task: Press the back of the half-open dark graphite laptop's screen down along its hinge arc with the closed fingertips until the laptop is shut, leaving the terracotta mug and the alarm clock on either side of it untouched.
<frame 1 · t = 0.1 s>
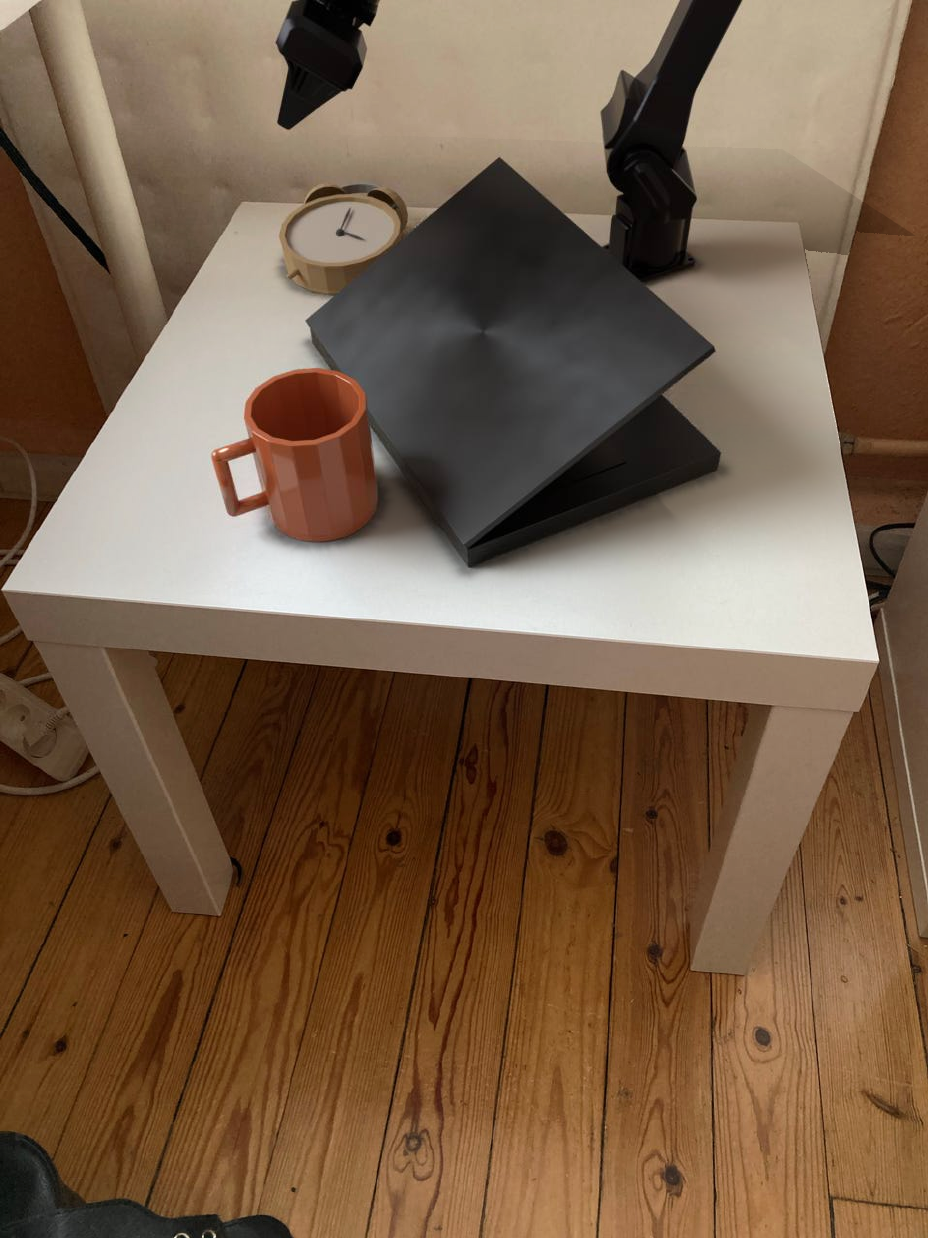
hand: (291, 100, 85), 15 cm above the table, tool tilted 35°, fingers open, 9 cm apart
mug: (323, 502, 76), on the table
laptop screen: (485, 334, 77), point 7 cm above the table, hinge at 27.0°
laptop: (500, 402, 83), on the table
alarm clock: (349, 254, 98), on the table
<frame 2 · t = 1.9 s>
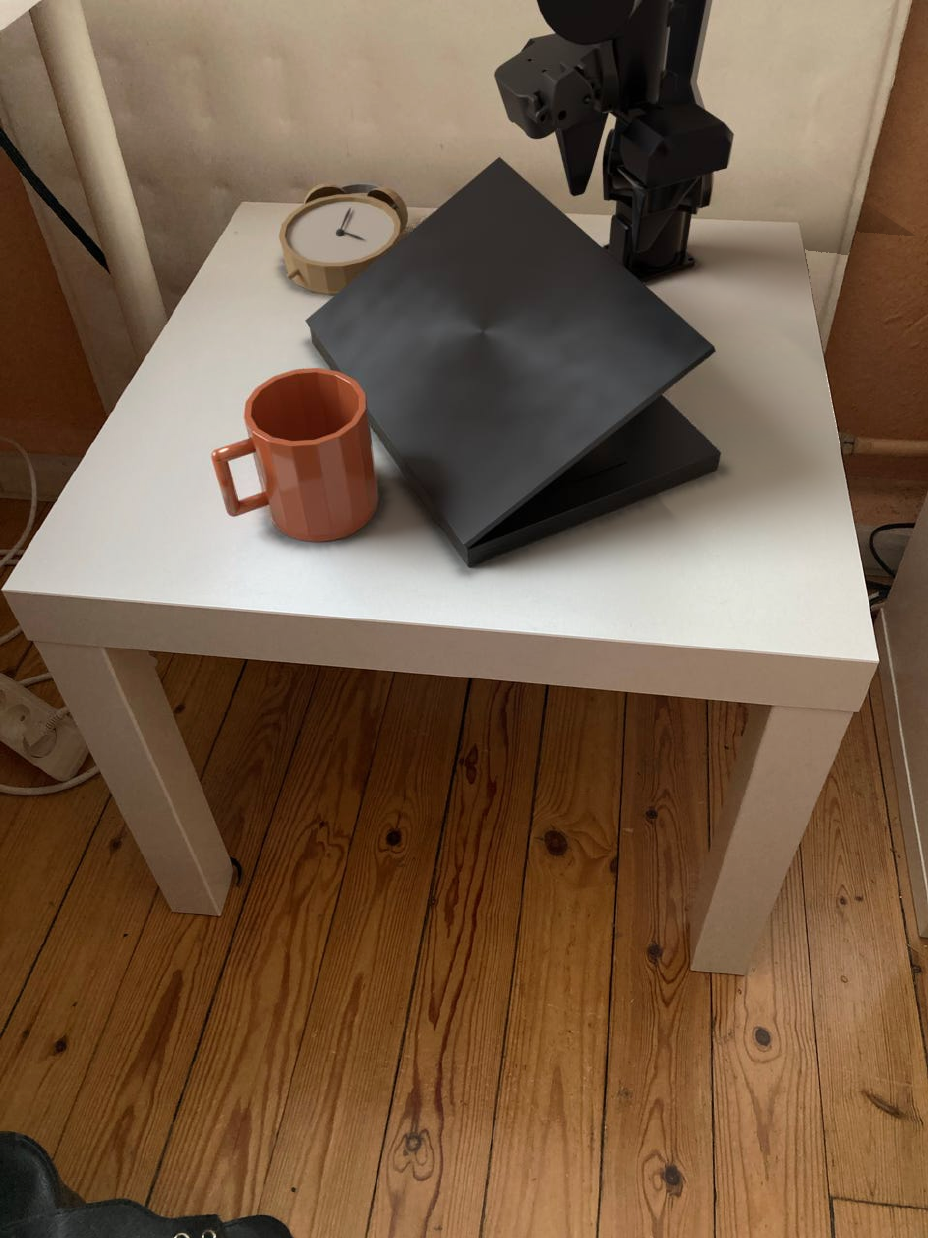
hand: (607, 221, 75), 13 cm above the table, tool pointing down, fingers open, 9 cm apart
nothing on the table moved.
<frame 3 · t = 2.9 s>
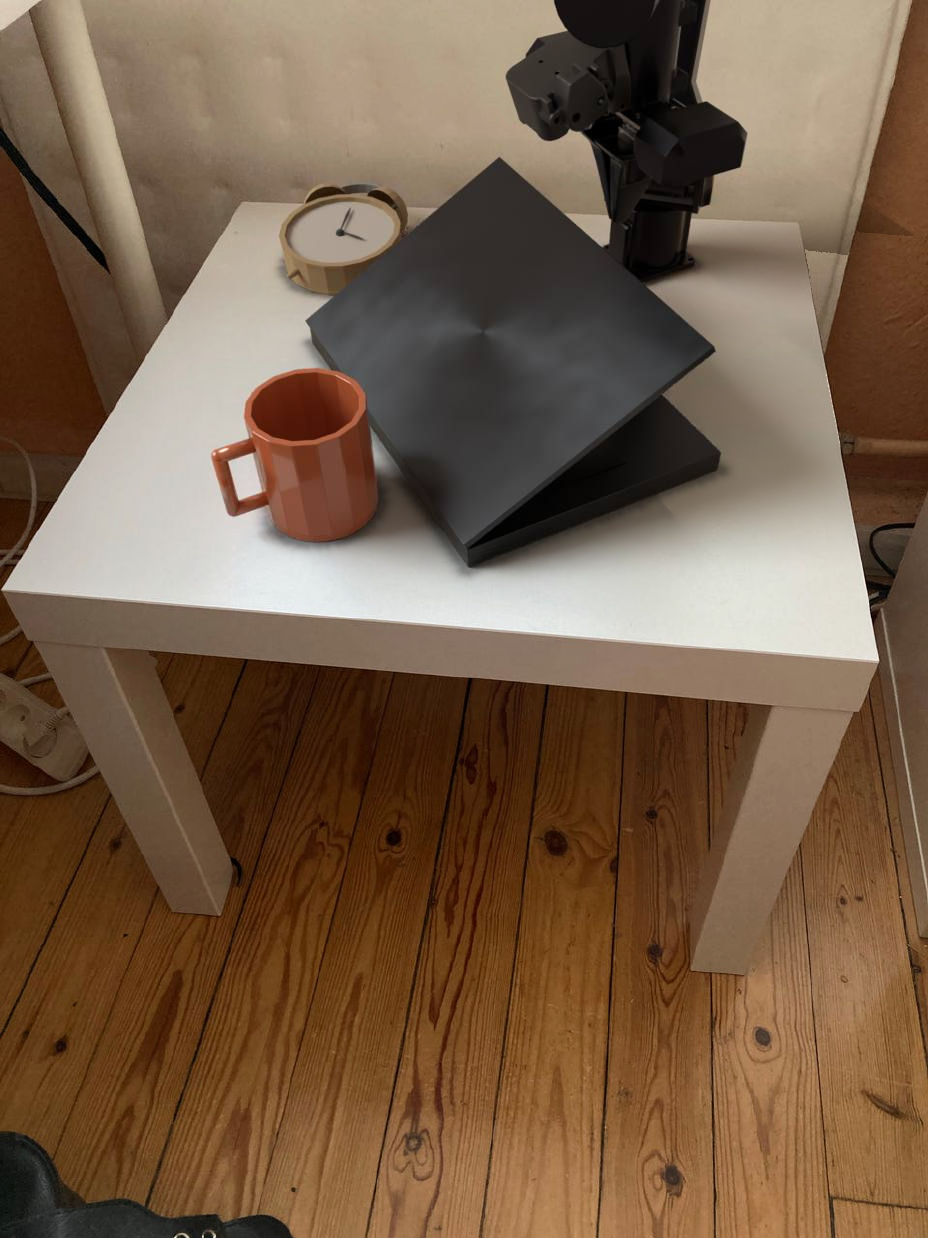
hand: (617, 219, 75), 13 cm above the table, tool pointing down, fingers closed
nothing on the table moved.
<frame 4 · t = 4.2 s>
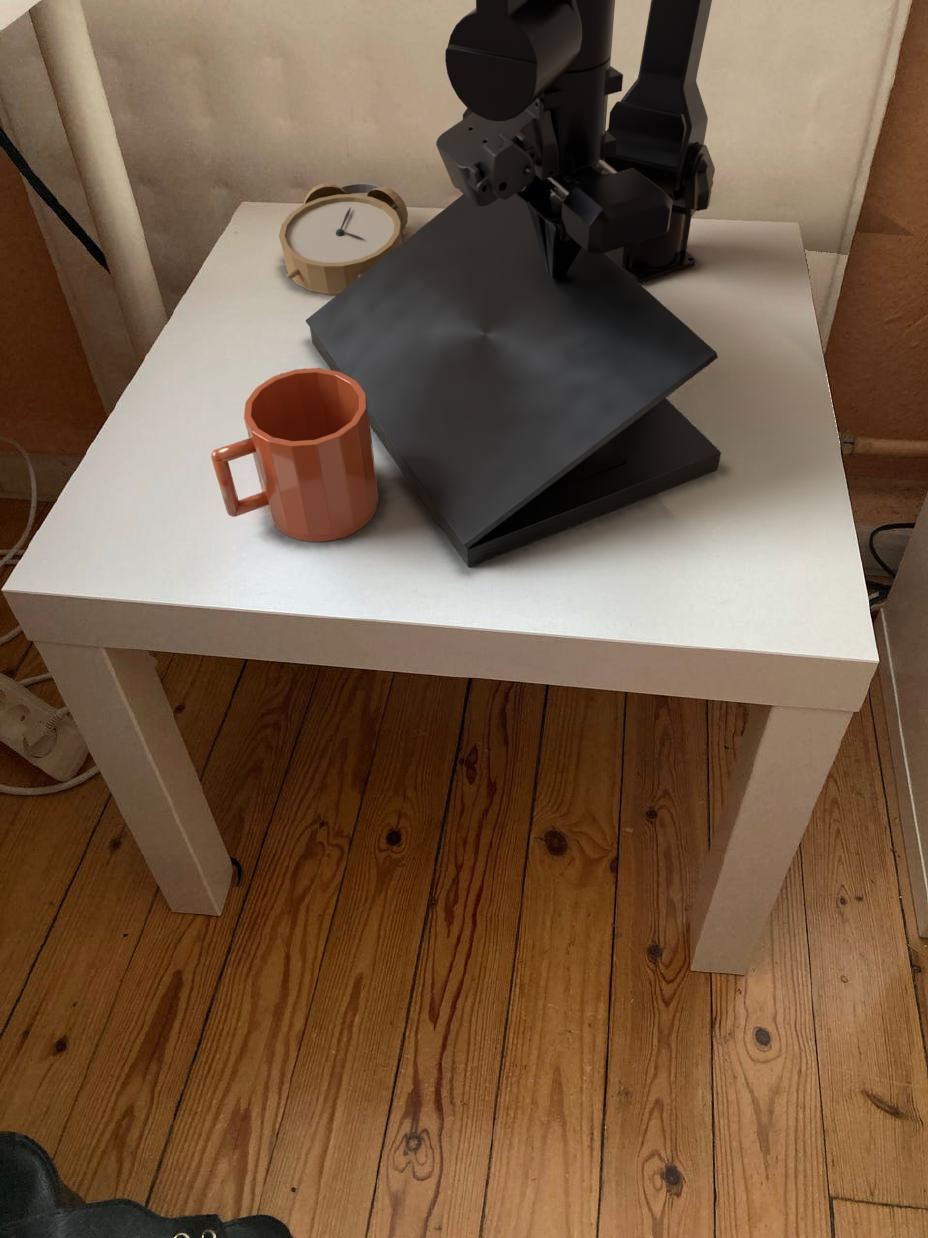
hand: (556, 275, 76), 10 cm above the table, tool pointing down, fingers closed
laptop screen: (486, 337, 77), point 7 cm above the table, hinge at 25.2°
everything else where it was.
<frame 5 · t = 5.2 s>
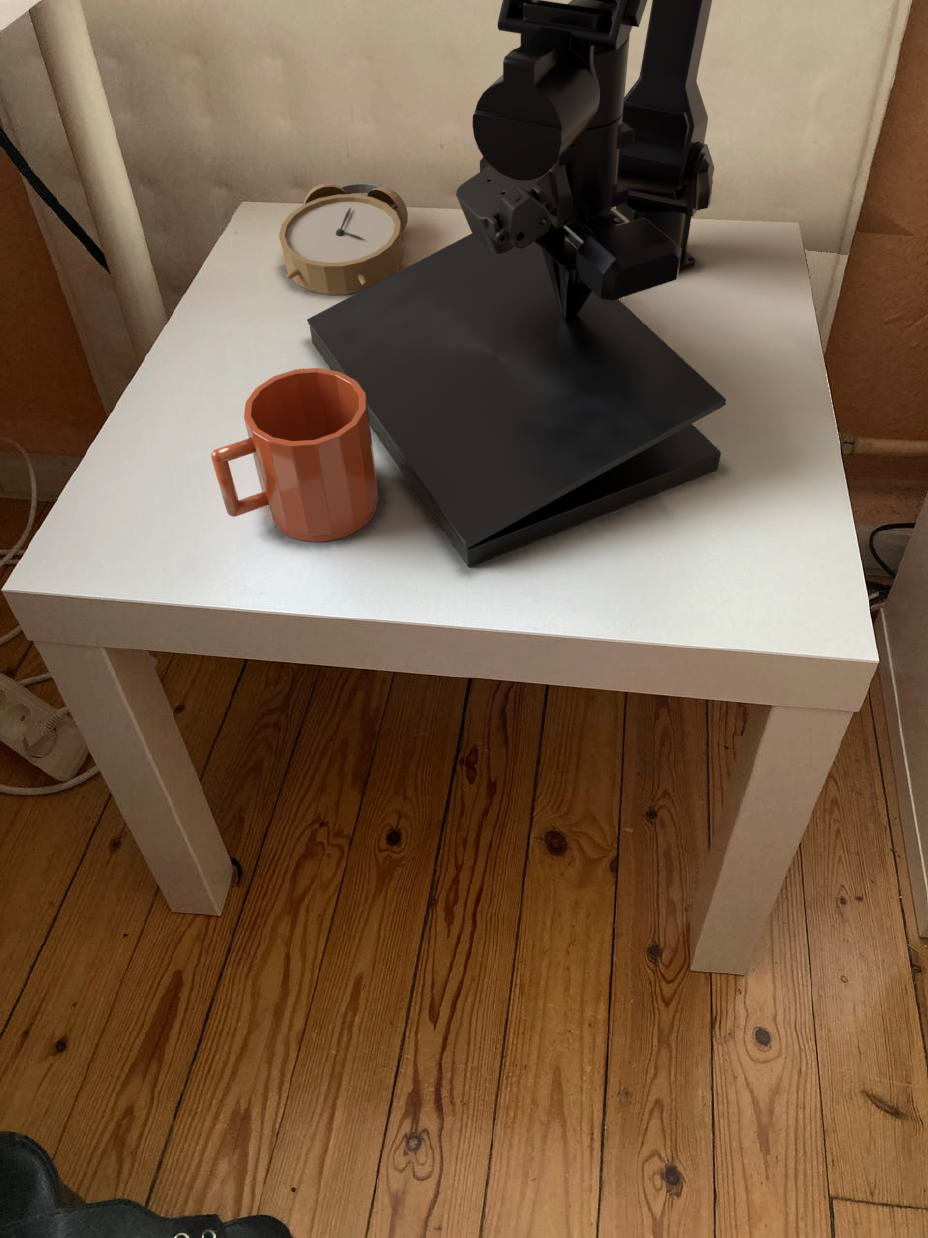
hand: (568, 314, 80), 6 cm above the table, tool pointing down, fingers closed, pressing on laptop screen
laptop screen: (496, 358, 79), point 4 cm above the table, hinge at 12.2°, touching gripper
everything else where it was.
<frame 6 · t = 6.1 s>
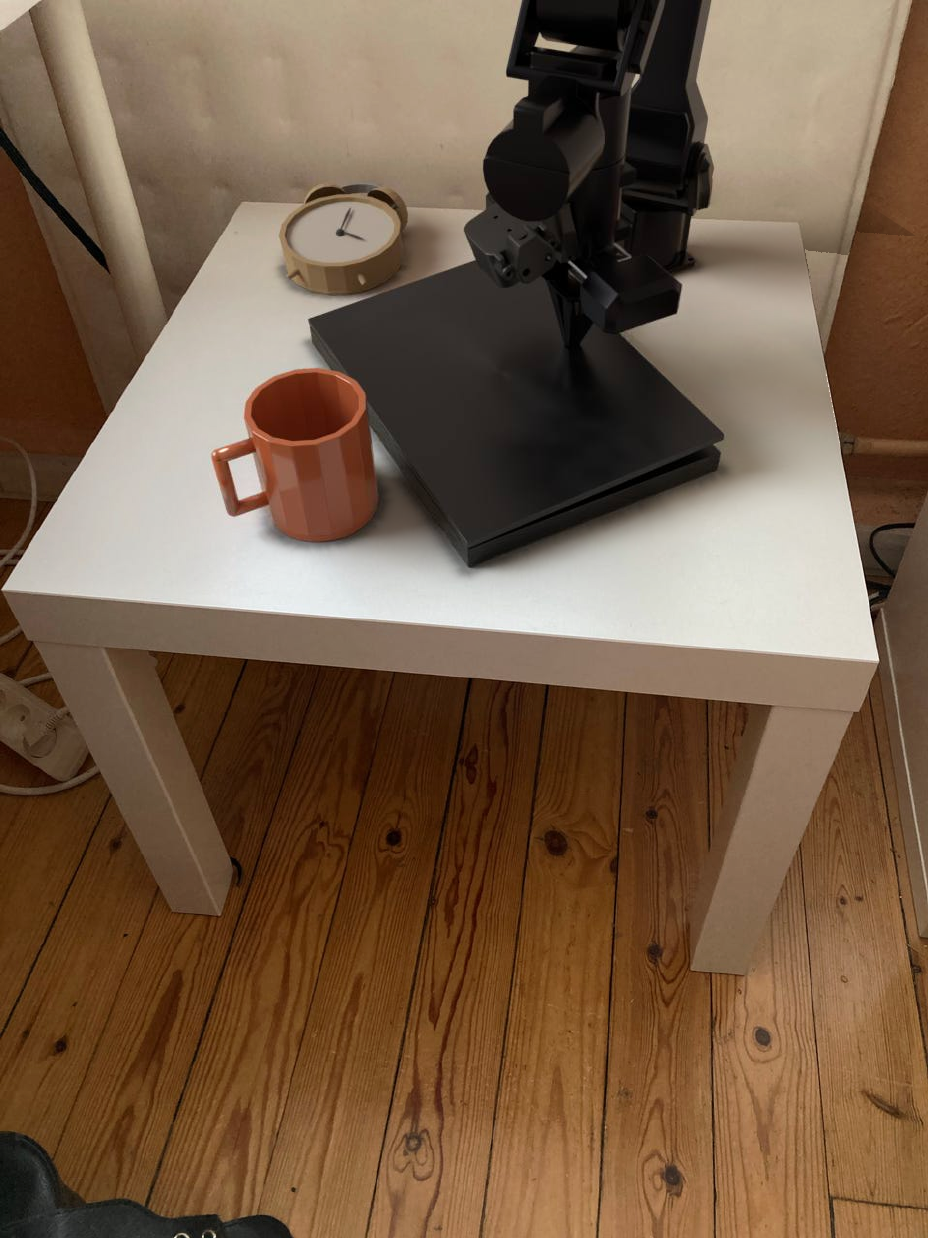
hand: (571, 343, 82), 3 cm above the table, tool pointing down, fingers closed, pressing on laptop screen
laptop screen: (500, 375, 81), point 3 cm above the table, hinge at 2.9°, touching gripper, laptop
everything else where it was.
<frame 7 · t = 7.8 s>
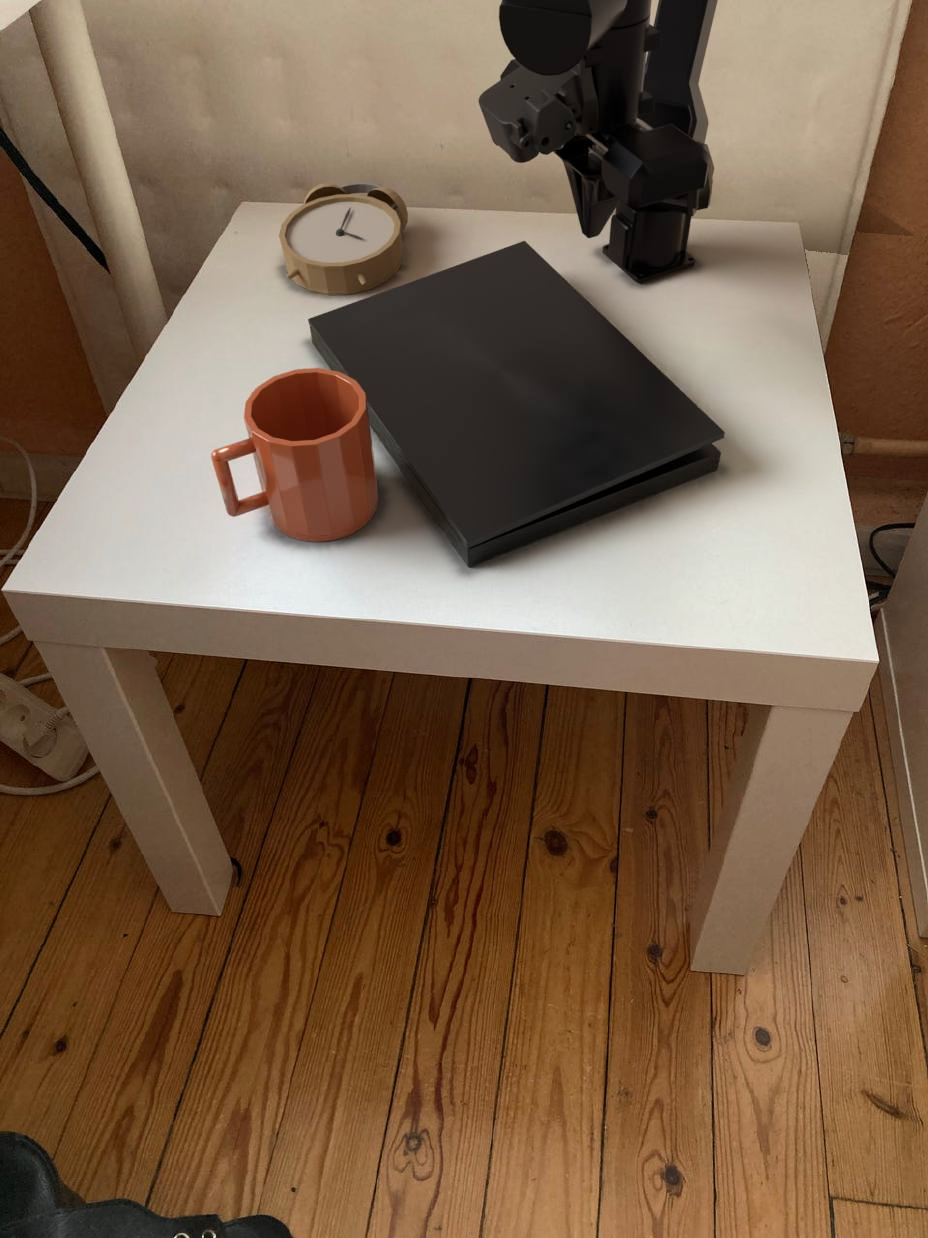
hand: (590, 234, 78), 11 cm above the table, tool pointing down, fingers closed
laptop screen: (500, 374, 81), point 3 cm above the table, hinge at 3.4°, touching laptop
everything else where it was.
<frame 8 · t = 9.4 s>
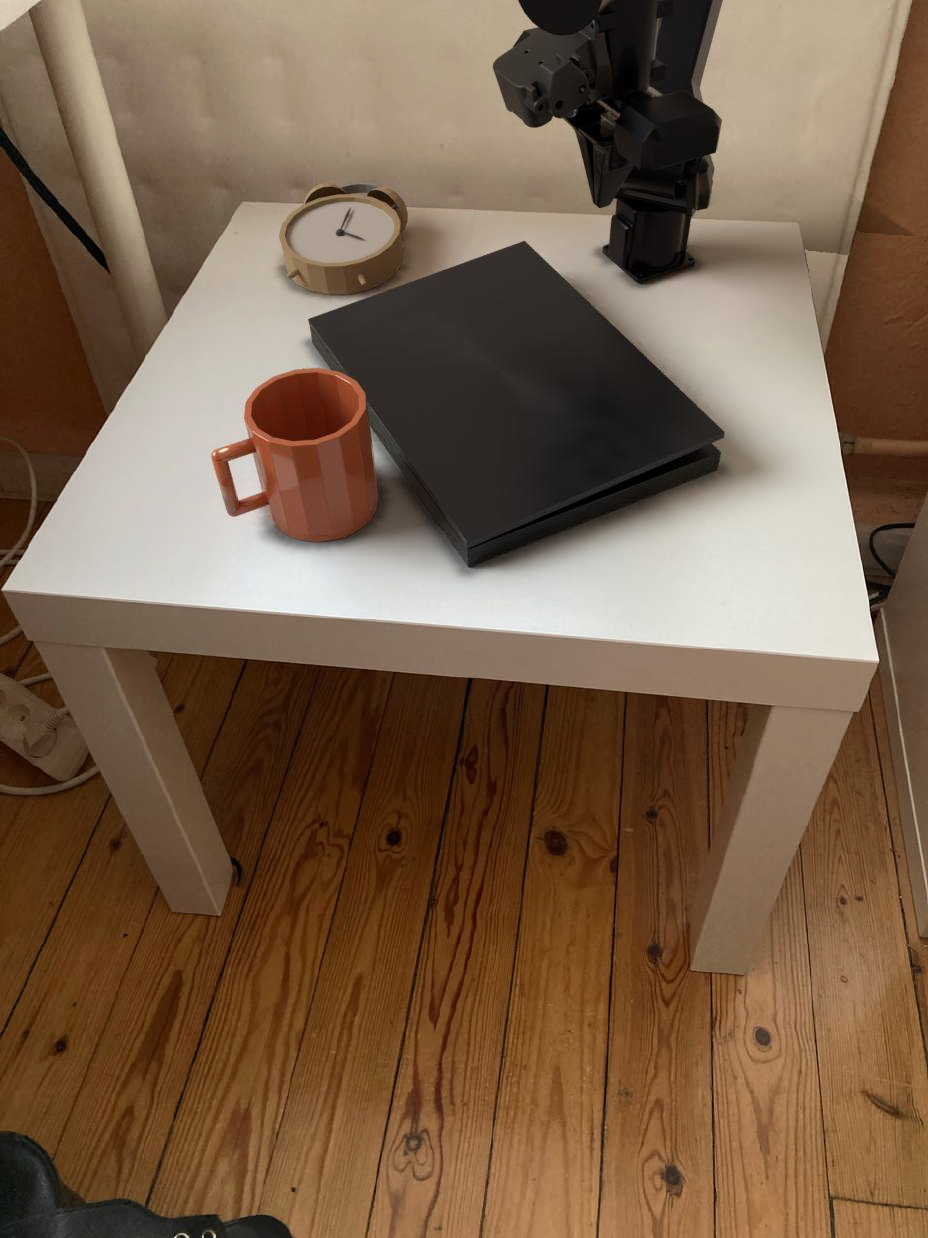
hand: (601, 205, 79), 12 cm above the table, tool pointing down, fingers closed
nothing on the table moved.
at the end: laptop screen at +3° (first picture: +27°); mug moved 0.0 cm from its start; alarm clock moved 0.2 cm from its start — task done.
